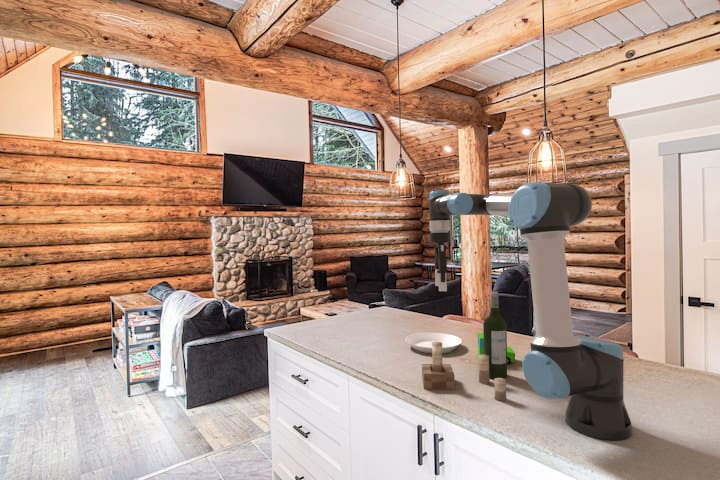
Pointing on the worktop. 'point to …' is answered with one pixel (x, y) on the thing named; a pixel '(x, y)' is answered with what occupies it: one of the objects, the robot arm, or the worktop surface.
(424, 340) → the white plate
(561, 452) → the worktop surface
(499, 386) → the short dowel
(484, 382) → the medium dowel
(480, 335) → the toy car
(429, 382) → the hole block
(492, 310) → the wine bottle
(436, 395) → the worktop surface
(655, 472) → the worktop surface
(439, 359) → the long dowel
